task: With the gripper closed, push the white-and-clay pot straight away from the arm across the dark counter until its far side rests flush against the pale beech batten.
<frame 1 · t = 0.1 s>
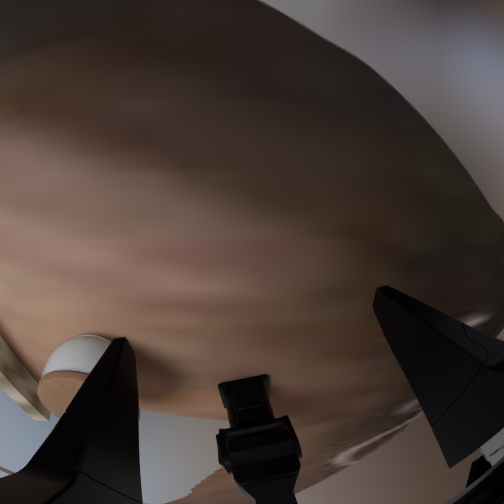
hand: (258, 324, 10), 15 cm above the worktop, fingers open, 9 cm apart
lidded jar: (96, 350, 28), on the worktop
board: (9, 356, 26), on the worktop
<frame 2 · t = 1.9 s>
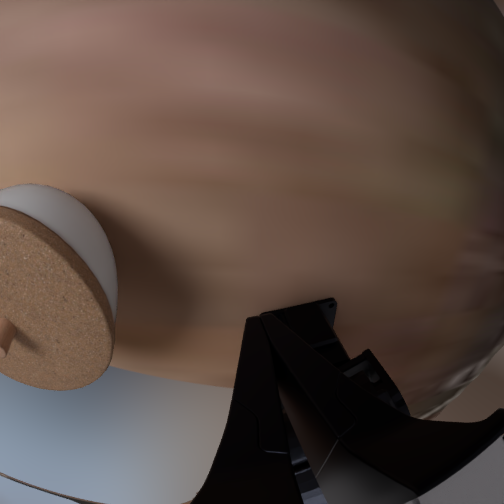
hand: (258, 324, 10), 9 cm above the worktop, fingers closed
lidded jar: (57, 239, 16), on the worktop
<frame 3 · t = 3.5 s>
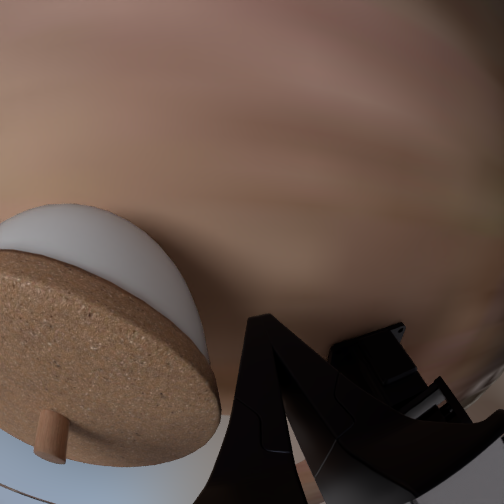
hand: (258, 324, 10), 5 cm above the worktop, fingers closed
lidded jar: (96, 272, 13), on the worktop, touching gripper
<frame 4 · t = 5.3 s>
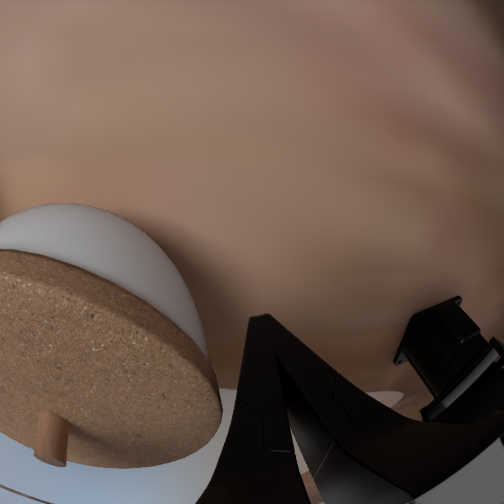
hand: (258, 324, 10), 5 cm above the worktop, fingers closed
lidded jar: (93, 272, 13), on the worktop, touching gripper
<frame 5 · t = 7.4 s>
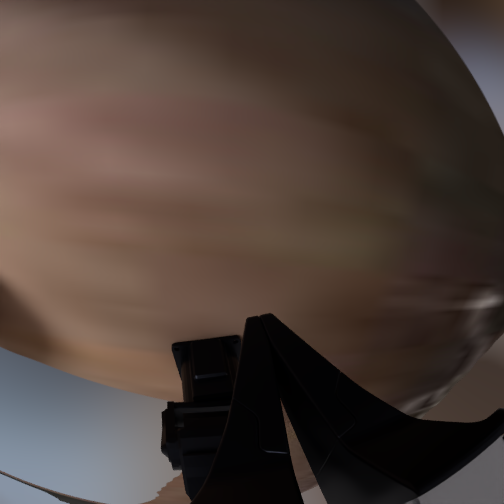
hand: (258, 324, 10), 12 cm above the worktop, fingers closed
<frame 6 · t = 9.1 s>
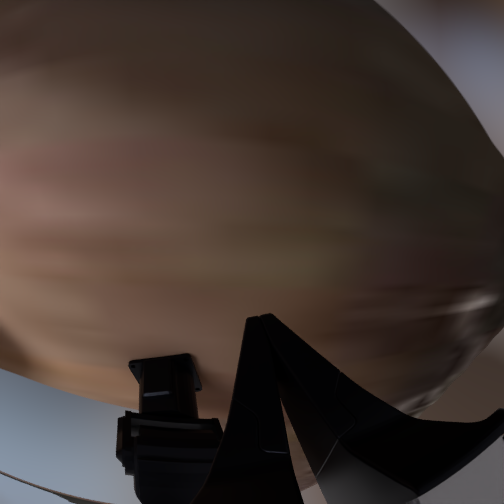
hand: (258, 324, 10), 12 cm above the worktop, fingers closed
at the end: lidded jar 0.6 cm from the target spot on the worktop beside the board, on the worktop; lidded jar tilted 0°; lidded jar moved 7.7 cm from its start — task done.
